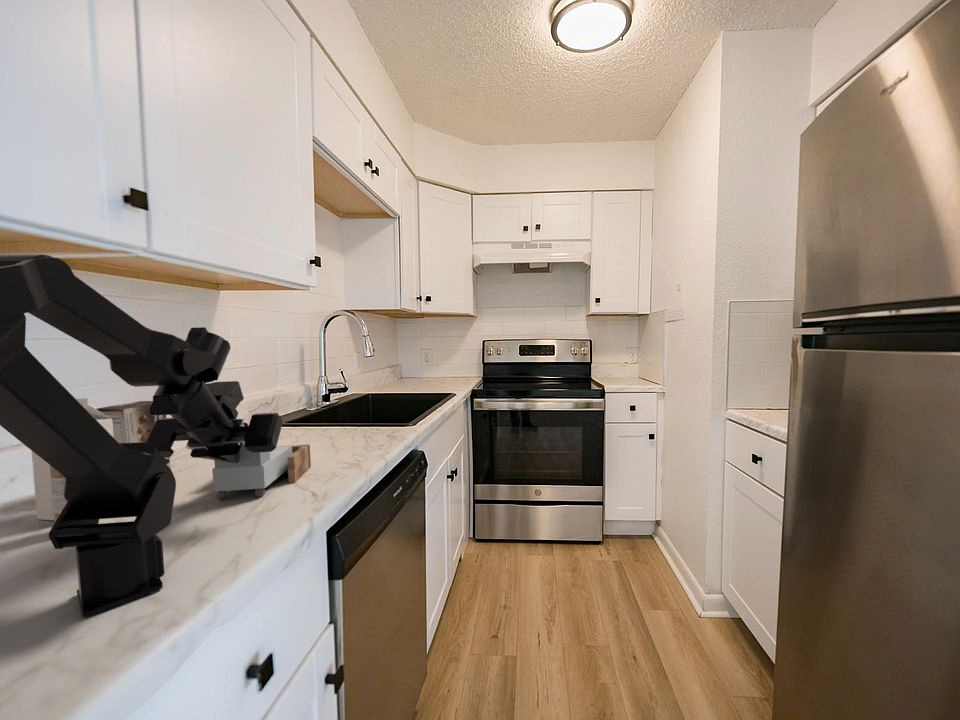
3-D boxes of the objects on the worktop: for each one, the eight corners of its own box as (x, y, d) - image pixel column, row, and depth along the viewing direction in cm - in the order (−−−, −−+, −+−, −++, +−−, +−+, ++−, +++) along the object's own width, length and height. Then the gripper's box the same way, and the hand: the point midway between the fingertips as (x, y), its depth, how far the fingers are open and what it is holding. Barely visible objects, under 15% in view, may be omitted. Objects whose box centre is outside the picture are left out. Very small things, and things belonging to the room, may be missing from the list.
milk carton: (71, 522, 65) (61, 401, 64) (36, 520, 66) (26, 401, 65) (119, 504, 72) (111, 395, 71) (86, 503, 73) (78, 395, 72)
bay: (295, 482, 80) (293, 456, 80) (219, 487, 79) (217, 461, 79) (310, 467, 90) (309, 444, 90) (243, 471, 89) (242, 448, 88)
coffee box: (145, 477, 87) (139, 400, 87) (172, 477, 86) (167, 400, 86) (100, 492, 78) (93, 407, 78) (129, 493, 77) (123, 407, 77)
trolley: (264, 497, 73) (261, 443, 72) (213, 501, 72) (209, 446, 71) (293, 472, 87) (291, 426, 87) (251, 474, 86) (248, 428, 86)
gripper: (274, 363, 67) (301, 418, 78) (150, 368, 65) (196, 424, 76) (256, 422, 59) (288, 473, 71) (115, 429, 57) (172, 480, 69)
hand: (236, 460), depth 72 cm, fingers closed, pressing on trolley
